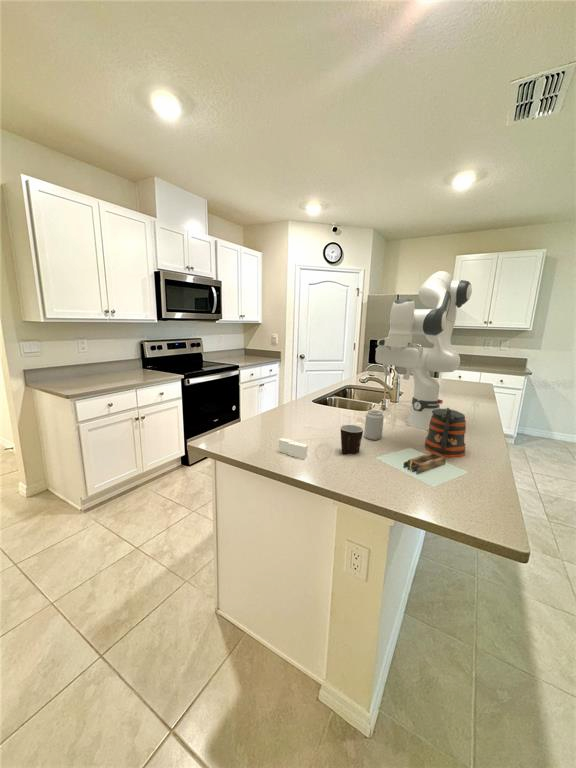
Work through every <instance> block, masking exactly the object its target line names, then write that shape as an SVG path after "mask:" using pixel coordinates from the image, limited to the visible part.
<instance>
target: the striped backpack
mask: <svg viewBox="0 0 576 768" xmlns="http://www.w3.org/2000/svg"><path fill="white" fill-rule="evenodd" d="M432 413H433V415H432V416H431V420H430V424H429V430H427V431H428V432H427V436H426V437H425V441H424V449H425V450H426V452H427V451H428V453H429V452H430V453H432V452H433V453H436V454H438V455H441V456H443V457H446V458H452V459H455V458H462V457H464V456H466V443H465V437H466V436H465V435H466V433H467V432H466V431H467V429H466V427H467V426H466V425H467V420H466V416H465V415H464V413H462V412H460V411H457V410H455V409H450V408H449V407H447V408H441V409H436V410H433V411H432Z"/></svg>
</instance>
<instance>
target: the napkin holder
mask: <svg viewBox="0 0 576 768" xmlns="http://www.w3.org/2000/svg"><path fill="white" fill-rule="evenodd" d="M279 451H280V452H279ZM278 452H279V453H281V452H283V453H282V454H286V453H287V456H288V455H290V456H289V457H292V456H294V457H293V458H297V457H298V458H297V459H301V458H302V460H306V459H307V458H308V444H306V443H302V442H297V441H294V440H292V439H288V438H283V437H281V438H279V439H278ZM306 457H307V458H306ZM305 458H306V459H305Z"/></svg>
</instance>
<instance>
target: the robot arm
mask: <svg viewBox="0 0 576 768" xmlns="http://www.w3.org/2000/svg"><path fill="white" fill-rule="evenodd" d="M472 292H473V289H472V284H471V282H470V281H468V280H465V279H461V280H457V279H456V280H455V279H454V280H453V277H452V276H451V274H450V272H447V271H444V270H439V271H436V272H434V273H433V274H431V275H430V276H428V278H427V279H426V280H425V281H424V282H423V283H422V285H421V286H420V288H419V290H418V298H419V301H420V303H422V305H424V306H425V307H428V308H427V309H426V308H423V309H422V308H419V309H417V308H415V300H413V299H408V298H407V299H406V298H402V299H396V300H394V301H393V303H392V304H391V309H390V315H389V331H388V335H387V336H386V337H384V338H381V339H379V340H377V343H376V345H377V347H376V350H375V356H374V357H375V359H374V360H375V362H376V364H380V365H381V364H382V365H381V366H382V370H383V375H384V376H385V377H387V376H388V377H389V376H390V375H391V371H389V369H388V368H389V367H390V366H391V367H392V366H393V367H400V368H405V369H406V373H405V374H403V378H402V379H403V380H405V381H406V380H407V381H409V380H410V376H411V375H412V376H413V377H412V378H413V381H414V389H413V390H414V391H413V397H412V399H411V404H412V405H411V406H410V407H409V411H408V416H407V418H406V419H405V422H406V424H407V426H409V427H412V428H416V429H419V430H423V431H429V424H430V420H431V416H432V415H433V413H432V411H433V410H436V409H442V408H441V407H440V405H442V404H443V402H444V401H443V399H439V393H440V387H441V386H440V384H439V382H438V381H437V380H436V379H434V378H433V377H432V376H431V374H430V372H436V373H444V374H445V373H454V372H455V371H457V370H458V368H459V367H460V364H461V357H460V355H459V353H458V352H457V351H456V350H455V349H454V348H453V346H452V342H451V340H452V335H453V331H454V327H455V324H456V318H457V310H458V309H460V308H461V307H462V306H463V305H465V304H466V303H467V302H468V301H469V300H470V298H471V295H472ZM457 308H458V309H457ZM413 335H425V338H426V340H427V341H428V342H429V343H431V344H432V345H434V346H433V347H423V346H422V345H421V344H420V343H412V342H413Z"/></svg>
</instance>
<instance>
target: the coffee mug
mask: <svg viewBox="0 0 576 768" xmlns="http://www.w3.org/2000/svg"><path fill="white" fill-rule="evenodd" d="M339 429H340V444H341V445H340V446H341V453H342V454H343V455H344V456H347V455H357V454H359V453H360V448H361V443H362V438H363V434H364V428H363V427H361V426H360V425H354V424H343V425H341V426H340V428H339Z"/></svg>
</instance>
